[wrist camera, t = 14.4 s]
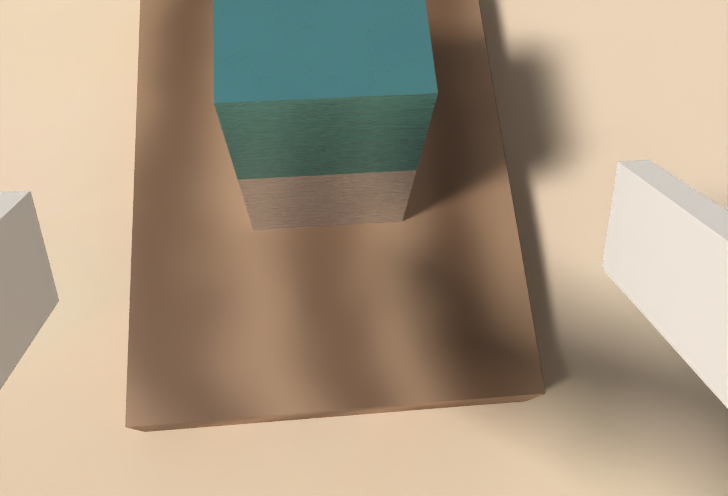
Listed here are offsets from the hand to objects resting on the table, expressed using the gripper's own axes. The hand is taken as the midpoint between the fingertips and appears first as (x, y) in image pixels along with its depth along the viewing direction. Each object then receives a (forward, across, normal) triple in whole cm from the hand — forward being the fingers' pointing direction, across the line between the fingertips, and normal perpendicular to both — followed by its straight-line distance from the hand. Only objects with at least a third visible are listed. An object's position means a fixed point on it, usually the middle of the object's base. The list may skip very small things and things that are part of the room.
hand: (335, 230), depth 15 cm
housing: (+17, 0, -4) cm, 18 cm away
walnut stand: (+19, 0, -6) cm, 20 cm away
